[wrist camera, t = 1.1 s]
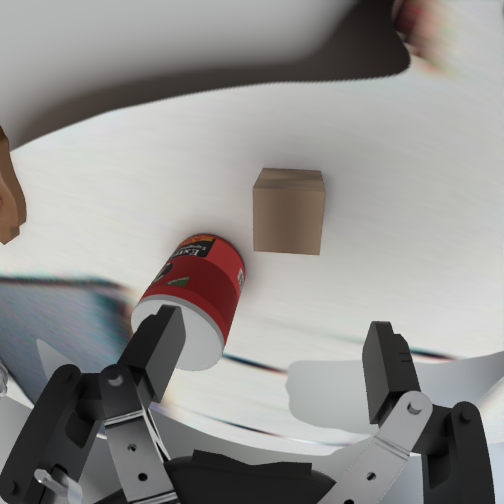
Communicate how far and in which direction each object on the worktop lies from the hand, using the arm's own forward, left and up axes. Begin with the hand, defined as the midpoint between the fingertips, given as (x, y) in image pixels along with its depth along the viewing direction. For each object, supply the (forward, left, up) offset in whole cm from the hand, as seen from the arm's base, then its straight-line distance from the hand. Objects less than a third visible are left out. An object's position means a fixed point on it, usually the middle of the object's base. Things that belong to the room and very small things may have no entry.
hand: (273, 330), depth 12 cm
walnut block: (0, 0, -17) cm, 17 cm away
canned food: (+8, +8, -17) cm, 21 cm away
